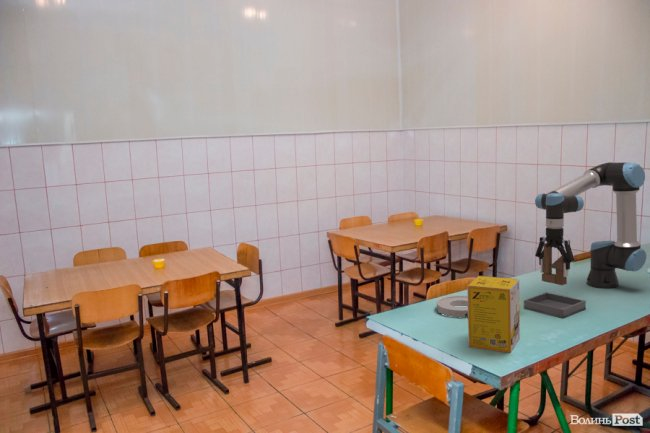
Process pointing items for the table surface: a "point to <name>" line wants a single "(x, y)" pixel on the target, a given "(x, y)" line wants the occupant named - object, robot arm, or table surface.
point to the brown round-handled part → (557, 265)
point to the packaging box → (493, 313)
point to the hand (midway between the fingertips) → (554, 274)
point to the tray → (555, 305)
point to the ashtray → (453, 306)
